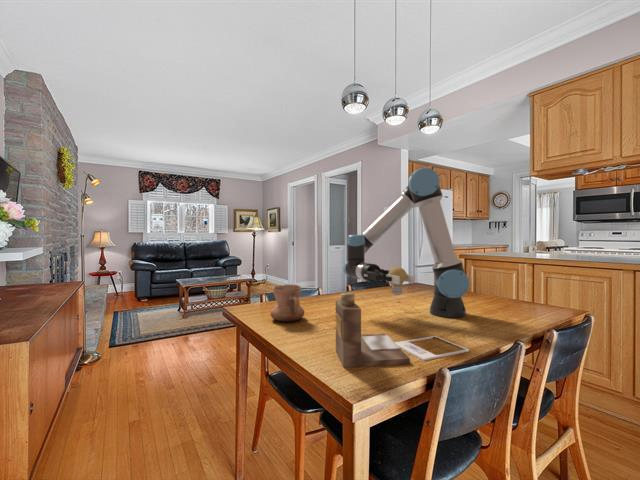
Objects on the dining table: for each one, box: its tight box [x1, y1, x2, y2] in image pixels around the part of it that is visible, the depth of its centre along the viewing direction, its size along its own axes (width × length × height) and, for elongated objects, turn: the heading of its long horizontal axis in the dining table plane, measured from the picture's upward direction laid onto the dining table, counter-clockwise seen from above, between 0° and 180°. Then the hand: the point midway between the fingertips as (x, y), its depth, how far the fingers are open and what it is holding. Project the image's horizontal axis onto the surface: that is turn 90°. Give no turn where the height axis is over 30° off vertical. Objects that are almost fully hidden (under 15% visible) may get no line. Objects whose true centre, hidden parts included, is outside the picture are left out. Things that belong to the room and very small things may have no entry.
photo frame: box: [394, 335, 470, 362], centre depth 100 cm, size 15×1×18 cm
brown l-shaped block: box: [335, 292, 411, 369], centre depth 97 cm, size 19×22×19 cm
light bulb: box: [388, 266, 407, 296], centre depth 115 cm, size 6×6×10 cm
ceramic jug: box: [269, 283, 305, 323], centre depth 133 cm, size 18×14×14 cm
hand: (406, 279), depth 110 cm, fingers closed on light bulb, 6 cm apart
